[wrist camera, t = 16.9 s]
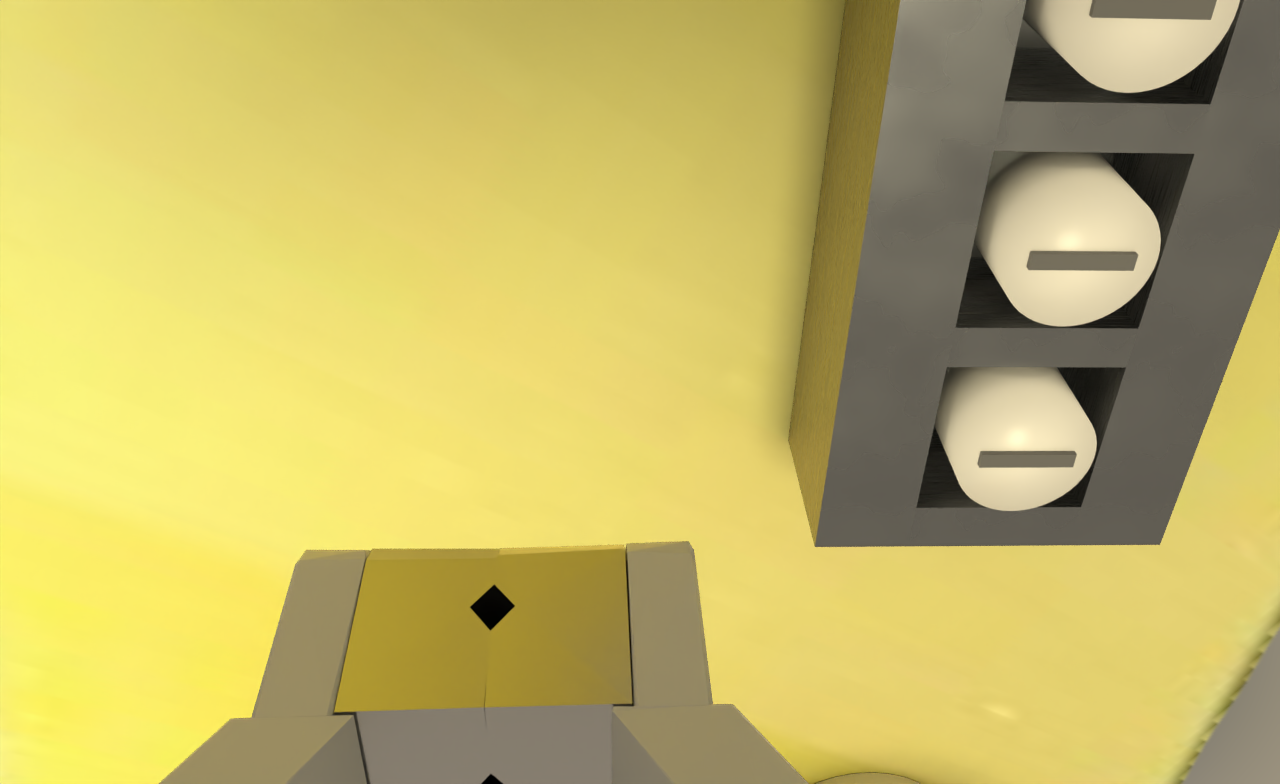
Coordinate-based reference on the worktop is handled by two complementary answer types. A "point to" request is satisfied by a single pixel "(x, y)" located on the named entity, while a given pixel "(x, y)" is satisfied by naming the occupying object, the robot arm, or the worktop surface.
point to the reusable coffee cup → (869, 779)
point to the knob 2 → (1131, 37)
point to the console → (971, 295)
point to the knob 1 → (1013, 435)
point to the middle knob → (1065, 235)
